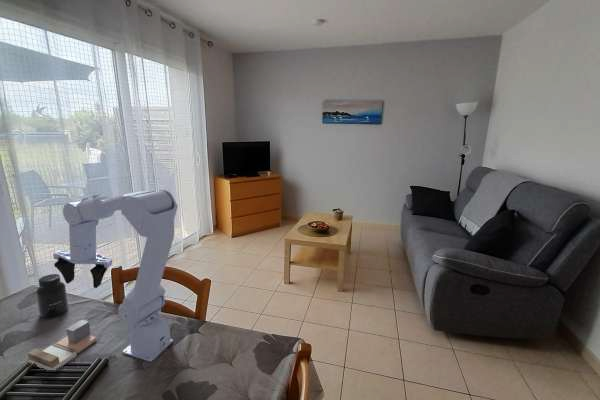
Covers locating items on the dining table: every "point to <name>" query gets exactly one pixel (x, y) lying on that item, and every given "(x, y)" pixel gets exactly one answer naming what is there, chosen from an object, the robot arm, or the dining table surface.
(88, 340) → the grey and peach block
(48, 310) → the supplement bottle
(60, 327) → the dining table surface
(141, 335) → the robot arm
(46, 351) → the board
